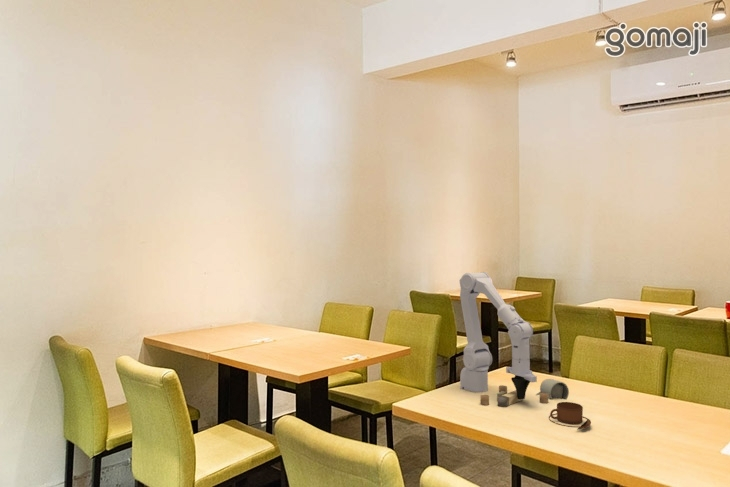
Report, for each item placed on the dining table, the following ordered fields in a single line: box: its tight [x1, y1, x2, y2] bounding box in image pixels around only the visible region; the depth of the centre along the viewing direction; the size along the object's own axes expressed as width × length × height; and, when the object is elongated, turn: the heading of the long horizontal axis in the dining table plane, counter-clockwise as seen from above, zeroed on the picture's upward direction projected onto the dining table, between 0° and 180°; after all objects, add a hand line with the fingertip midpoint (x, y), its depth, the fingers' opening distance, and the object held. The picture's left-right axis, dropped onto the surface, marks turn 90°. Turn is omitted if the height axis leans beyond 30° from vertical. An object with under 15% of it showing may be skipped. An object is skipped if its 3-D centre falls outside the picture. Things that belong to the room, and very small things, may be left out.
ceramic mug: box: [535, 378, 570, 400], centre depth 189 cm, size 10×8×7 cm
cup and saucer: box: [548, 401, 592, 430], centre depth 164 cm, size 12×12×6 cm
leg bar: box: [497, 389, 524, 408], centre depth 182 cm, size 13×3×3 cm, turn 134°
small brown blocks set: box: [479, 384, 549, 407], centre depth 181 cm, size 18×18×4 cm
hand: (521, 398), depth 182 cm, fingers closed, pressing on leg bar
